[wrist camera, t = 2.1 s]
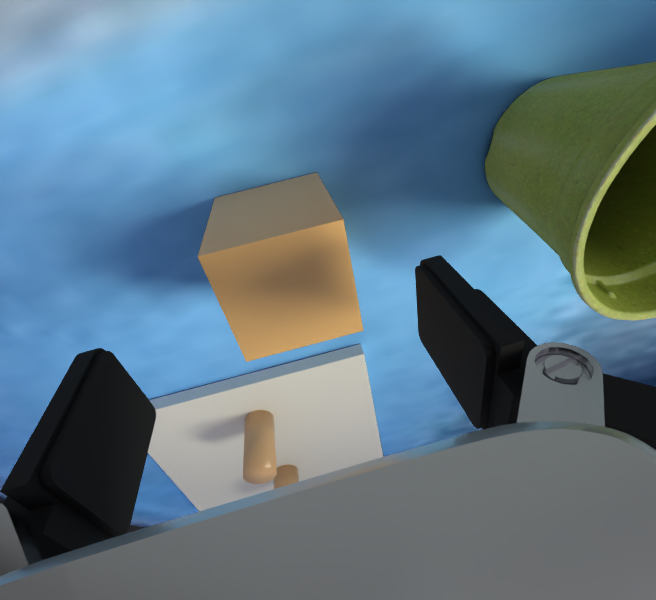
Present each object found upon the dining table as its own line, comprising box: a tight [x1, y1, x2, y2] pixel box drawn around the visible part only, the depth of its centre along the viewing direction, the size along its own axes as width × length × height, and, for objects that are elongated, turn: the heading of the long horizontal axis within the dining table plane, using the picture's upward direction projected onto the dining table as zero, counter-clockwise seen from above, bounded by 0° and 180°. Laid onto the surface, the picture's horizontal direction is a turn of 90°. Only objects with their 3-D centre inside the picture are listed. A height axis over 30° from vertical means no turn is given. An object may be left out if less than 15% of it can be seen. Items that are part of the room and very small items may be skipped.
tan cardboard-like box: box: [198, 172, 363, 362], centre depth 16 cm, size 5×5×6 cm
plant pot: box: [485, 62, 656, 320], centre depth 15 cm, size 9×9×9 cm
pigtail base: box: [148, 344, 383, 511], centre depth 25 cm, size 16×14×5 cm
